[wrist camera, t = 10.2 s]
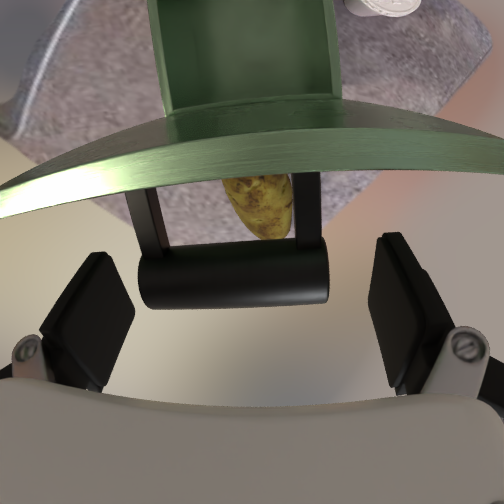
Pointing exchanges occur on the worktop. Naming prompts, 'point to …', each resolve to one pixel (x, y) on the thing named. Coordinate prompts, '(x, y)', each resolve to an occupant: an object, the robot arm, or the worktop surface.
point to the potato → (262, 203)
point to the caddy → (243, 52)
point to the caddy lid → (245, 165)
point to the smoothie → (381, 7)
